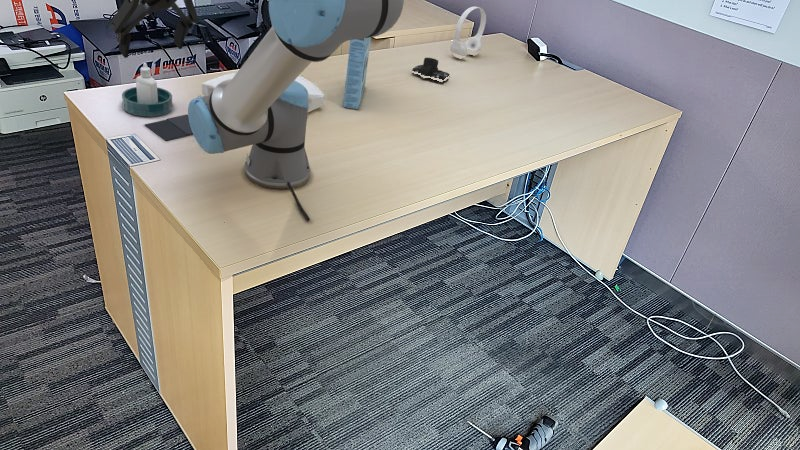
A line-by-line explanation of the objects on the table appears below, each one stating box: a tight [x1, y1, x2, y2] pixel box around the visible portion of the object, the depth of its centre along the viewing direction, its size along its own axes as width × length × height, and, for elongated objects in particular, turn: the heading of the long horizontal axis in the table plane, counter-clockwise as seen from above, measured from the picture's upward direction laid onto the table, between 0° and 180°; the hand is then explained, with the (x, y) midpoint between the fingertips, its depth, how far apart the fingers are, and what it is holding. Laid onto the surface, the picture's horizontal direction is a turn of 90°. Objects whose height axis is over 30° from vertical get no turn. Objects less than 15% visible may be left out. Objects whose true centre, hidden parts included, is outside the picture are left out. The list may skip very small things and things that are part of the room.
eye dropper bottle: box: [135, 62, 158, 104], centre depth 158 cm, size 4×6×12 cm
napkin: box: [144, 114, 194, 142], centre depth 154 cm, size 10×12×1 cm
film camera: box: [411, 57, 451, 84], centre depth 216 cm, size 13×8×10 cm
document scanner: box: [201, 72, 325, 113], centre depth 173 cm, size 21×28×6 cm
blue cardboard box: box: [342, 37, 372, 110], centre depth 185 cm, size 20×5×23 cm, turn 177°
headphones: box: [449, 6, 487, 57], centre depth 239 cm, size 7×18×20 cm, turn 141°
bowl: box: [121, 86, 174, 117], centre depth 160 cm, size 12×12×4 cm
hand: (151, 49), depth 141 cm, fingers open, 13 cm apart
